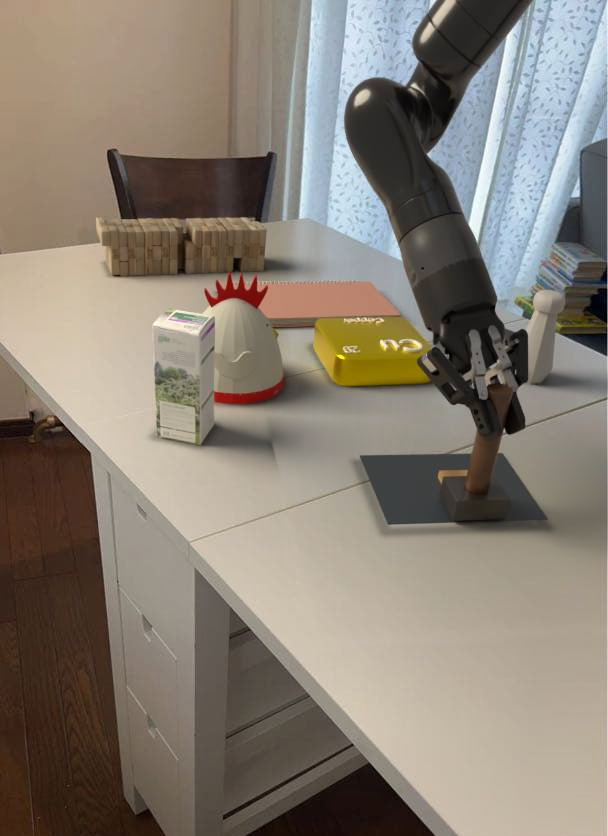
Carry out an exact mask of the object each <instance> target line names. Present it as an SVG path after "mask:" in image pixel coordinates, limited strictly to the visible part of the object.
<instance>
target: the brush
mask: <svg viewBox="0 0 608 836" xmlns="http://www.w3.org/2000/svg"><path fill="white" fill-rule="evenodd" d="M486 386H487V390H488V398H487V400H490V399H491V400H492V403H493V406H494V408H495V411H496V414H497V417H498V419H499V422H500V425H501V428H502V430H503V431H505V428H504V426H505V422H506V418H507V414H508V410H509V406H510V402H511V398H512V394H513V390H512V388H510V387H509V386H507V385H504V384H502V383H501V384H498V383H493V384H489V385H488V384H486ZM502 438H503V435H502V436H500V437H498V438H496V439H494V440H491V441H487V442H486V441H484V439H483V437H481V436H480V434H479V433H478V431H477V430H476V432H475V436H474V441H473V445H472V450H471V453H470V454H471V458H470V463H469V467H468V472H467V476H444V477H443V480H442V485H441V490H440V494H439V496H440V498H441V499H442V501H443V503H444V505H445V507H446V509H447V511H448V513H449V514H450V516H451V518H452V520H453V521H463V520H495V519H506V517H507V514H508V510H509V506H510V502H511V499H510V497H509V496H508V494H507V493H506V491H505V490H504V488H503V487H502V485H501V484H500V482H499V481H498V479H497V478H496V476H495V475H493V471H494V467H495V463H496V459H497V455H498V453H499V450H500V446H501V443H502Z"/></svg>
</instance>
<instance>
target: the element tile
mask: <svg viewBox="0 0 608 836" xmlns="http://www.w3.org/2000/svg"><path fill="white" fill-rule="evenodd" d="M312 347H313V350H314V352H315V354H316V356H317V357H318V359H319V361H320V362H321V363H322V366H323V367H324V369H325V370H326V372H327V374H328V375H329V378H330V379H331V380H332V382H333V383H335V384H336V385H338V386H343V387H370V386H371V387H372V386H373V387H374V386H400V385H422V384H423V385H424V384H427V383H431V382H432V381H431V380H430V379H429V378H428V376H427V375H426V374H425V373H424V372H423V370H422V369H421V368H420V367H419V366H418V364H417V359H418V358H419V357H420V356H422V355H423V354H425V353H426V352H427V351H429V350H430V349H431V348H432V347H433V346H431V344H430V343H429V342H428V341H427V340H426V339H425V338H424V336H423V335H422V334H421V333H420V332H419V331H418V329H417V328H416V327H415V325H414V324H412V322H410V321H409V320H408V319H406V318H405V317H402V316H398V317H367V318H366V317H364V318H359V317H358V318H321V319H318V320H317V321H316V323H315V326H314V331H313V343H312Z"/></svg>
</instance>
